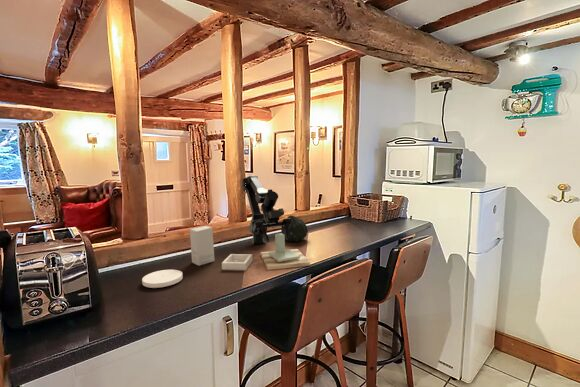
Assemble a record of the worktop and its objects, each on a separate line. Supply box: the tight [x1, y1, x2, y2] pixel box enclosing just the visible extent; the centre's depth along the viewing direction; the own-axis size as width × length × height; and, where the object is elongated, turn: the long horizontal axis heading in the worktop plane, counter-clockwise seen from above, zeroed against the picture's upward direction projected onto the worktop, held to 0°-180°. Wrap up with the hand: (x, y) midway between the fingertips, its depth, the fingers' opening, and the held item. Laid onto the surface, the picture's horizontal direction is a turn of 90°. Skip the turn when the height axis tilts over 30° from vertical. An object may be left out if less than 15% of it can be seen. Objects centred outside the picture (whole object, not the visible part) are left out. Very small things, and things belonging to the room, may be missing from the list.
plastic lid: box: [141, 269, 184, 289], centre depth 116 cm, size 14×14×2 cm
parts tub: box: [221, 253, 254, 271], centre depth 133 cm, size 12×10×3 cm
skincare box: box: [189, 225, 216, 266], centre depth 137 cm, size 8×7×16 cm
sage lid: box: [267, 232, 300, 262], centre depth 137 cm, size 12×10×10 cm
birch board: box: [260, 248, 311, 271], centre depth 138 cm, size 20×18×2 cm
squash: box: [280, 214, 309, 243], centre depth 172 cm, size 14×15×15 cm
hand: (278, 240), depth 142 cm, fingers open, 9 cm apart
